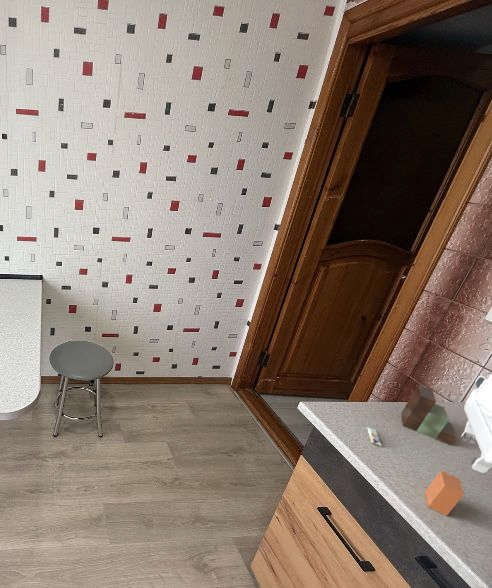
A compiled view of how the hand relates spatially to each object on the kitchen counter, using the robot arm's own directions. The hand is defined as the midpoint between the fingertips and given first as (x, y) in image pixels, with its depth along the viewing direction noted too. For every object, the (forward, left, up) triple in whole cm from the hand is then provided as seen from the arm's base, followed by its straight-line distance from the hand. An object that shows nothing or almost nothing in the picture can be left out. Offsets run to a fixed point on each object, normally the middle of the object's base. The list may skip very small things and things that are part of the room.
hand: (471, 454), depth 68 cm
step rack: (-1, -31, -15) cm, 34 cm away
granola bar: (+11, -15, -15) cm, 24 cm away
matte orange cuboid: (0, 0, -15) cm, 15 cm away
